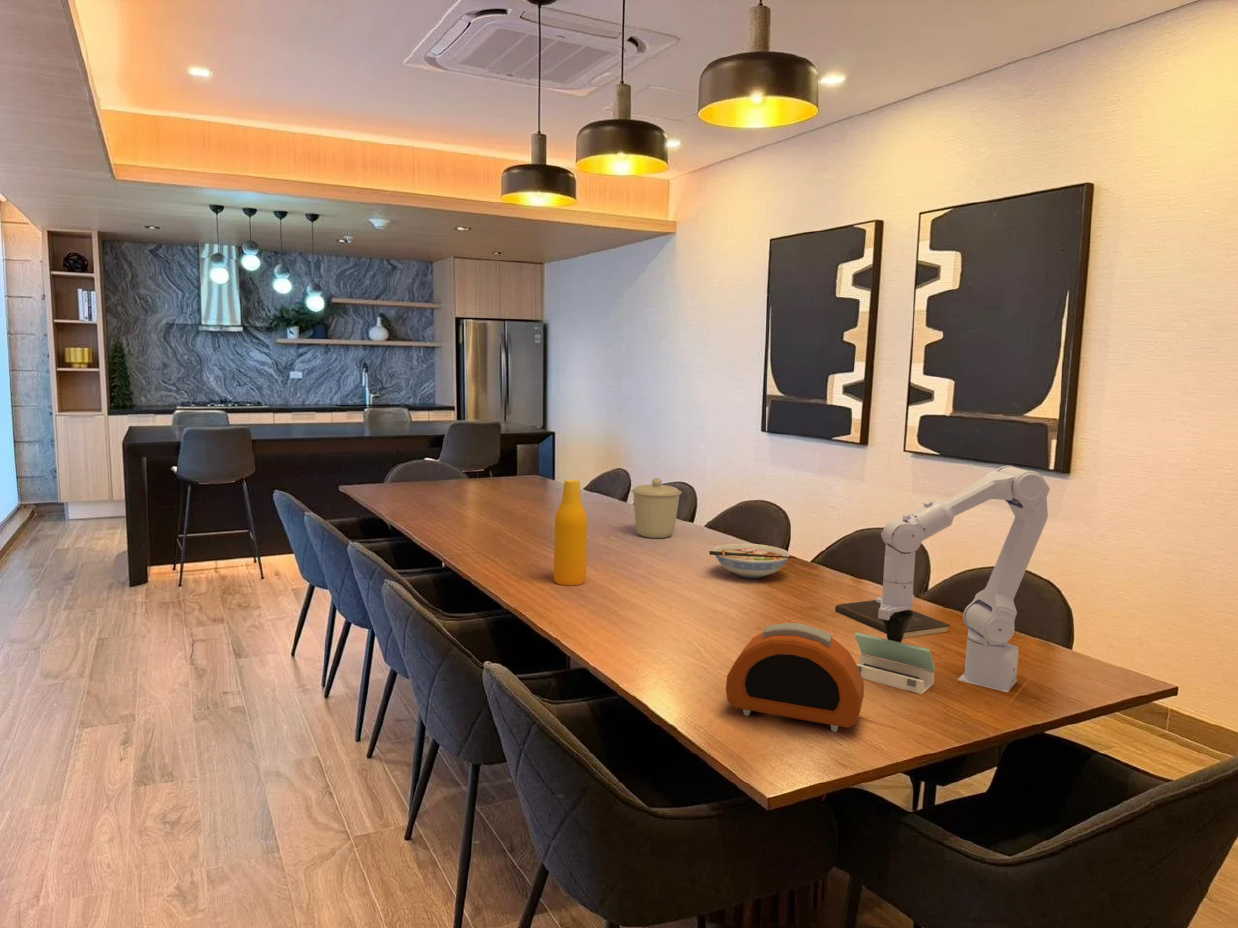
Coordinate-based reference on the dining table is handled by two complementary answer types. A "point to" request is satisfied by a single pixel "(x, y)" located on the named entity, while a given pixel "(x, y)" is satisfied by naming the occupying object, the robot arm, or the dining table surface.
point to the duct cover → (895, 651)
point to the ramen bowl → (750, 559)
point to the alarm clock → (797, 677)
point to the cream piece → (895, 679)
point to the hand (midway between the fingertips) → (894, 645)
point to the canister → (655, 509)
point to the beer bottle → (570, 537)
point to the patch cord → (891, 671)
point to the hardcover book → (869, 616)
